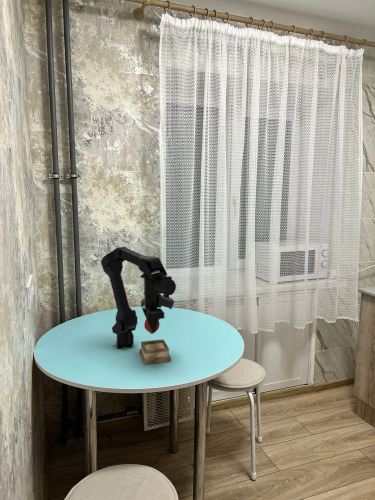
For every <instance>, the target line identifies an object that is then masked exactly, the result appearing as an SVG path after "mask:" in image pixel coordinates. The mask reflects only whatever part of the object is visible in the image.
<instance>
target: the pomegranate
mask: <svg viewBox="0 0 375 500" xmlns="http://www.w3.org/2000/svg"><path fill="white" fill-rule="evenodd" d="M143 325H144V329H145V330H146V331H147V332H148V333H150V334H151V335H153V334H154V333H152V331H151V328H150V326H149V323H148V321H147V319H146V318H145V321H144V323H143ZM159 328H160V319H159V320H158V323H157V327H156V331H155V333H156V332H157V331H158V330H159Z"/></svg>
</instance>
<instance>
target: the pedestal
mask: <svg viewBox="0 0 375 500" xmlns="http://www.w3.org/2000/svg"><path fill="white" fill-rule="evenodd" d="M138 352H139V356H140V358H141V361H142V364H143V366H144V365H154V364H155V365H156V364H163V363H169V362H170V363H171V362H172V356H171V355H170V348H169V346H168V344H167V343H166V341H165V339H164V338H163V339H154V340H145V341H140V348H139V351H138Z"/></svg>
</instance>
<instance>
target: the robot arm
mask: <svg viewBox="0 0 375 500" xmlns="http://www.w3.org/2000/svg"><path fill="white" fill-rule="evenodd" d="M125 261H127V262H128V263H131V264H133V265H135V266H137V267H138V270H139V271H140V272H142V274H141V275H140V279H143V284H144V285H143V297H144V298H142V299H141V300H140V306H141V307H140V308H141V310H142V312H143V314H144V316H145V320H146V319H147V321H148V323H149V326H150V328H151V331H152V333H153V334H155V333H156V332H157V331H156V327H157V323H158V320H159V321H160V320H161V319H163V320H164V319H165V312H164V310H163V309H161V308H162V307H165V308H168V309H170V310H172V309H173V307H174V303H175V300H174V299H173V298H172V297H170V296H172V295H173V294H174V293H175V292H176V289H177V284H176V282H175V280H173V277H172V276H171V275H168V273H167V271H166V269H165V267H164V264H163V263H162V261H161V258H159V257H158V256H149V255H148V256H147V255H143V254H141V253H139V252H136V251H134V250H133V249H130V248H128V246H127V247H126V246H120V247H119V246H118V247H115V249H113V251H112V250H111V251H110V252H108V253H106V255H103V257H102V259H101V260H100V264H101V267H102V270H103V272H104V274H106V276H108V278H109V281H110V284H111V289H112V294H113V296H114V297H113V298H114V301H115V306H116V309H117V311H116V315H115V323H114V325H113V326H112V327H111V330H112V333H113V334H115V335H116V342H115V345H116V349H117V350H118V349H119V350H120V349H129V348H133V347H134V338H135V337H134V335H135V334H134V333H133V332H134V331H136V330H137V326H138V325H137V324H138V317H137V311H136V310H135V309H132V308H131V307H130V304H129V300H128V297H127V294H126V293H127V292H126V289H125V286H124V285H125V284H124V281H123V277H122V271H123V268H124V266H123V263H124V262H125ZM155 331H156V332H155Z"/></svg>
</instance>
